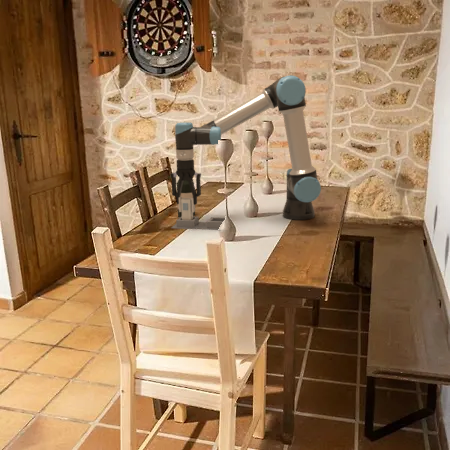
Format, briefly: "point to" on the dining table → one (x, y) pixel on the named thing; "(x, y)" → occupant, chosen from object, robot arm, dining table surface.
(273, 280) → the dining table surface
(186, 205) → the cream box
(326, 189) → the dining table surface
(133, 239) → the dining table surface
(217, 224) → the grey holder tray
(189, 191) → the wine bottle
